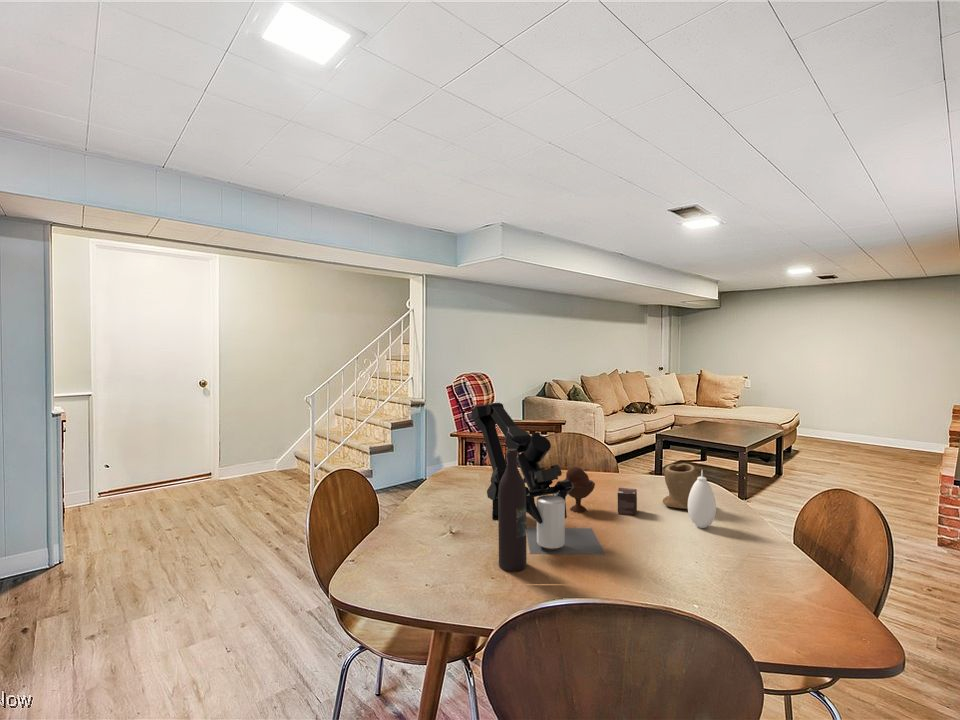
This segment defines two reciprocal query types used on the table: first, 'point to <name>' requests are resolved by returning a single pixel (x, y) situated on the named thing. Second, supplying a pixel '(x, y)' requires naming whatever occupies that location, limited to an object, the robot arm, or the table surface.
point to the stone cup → (679, 484)
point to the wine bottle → (512, 517)
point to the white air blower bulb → (701, 503)
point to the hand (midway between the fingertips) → (553, 520)
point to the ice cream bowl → (579, 487)
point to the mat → (568, 542)
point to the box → (627, 501)
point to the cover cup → (551, 521)
